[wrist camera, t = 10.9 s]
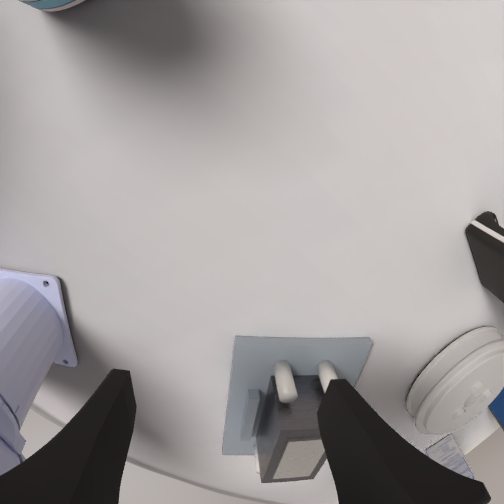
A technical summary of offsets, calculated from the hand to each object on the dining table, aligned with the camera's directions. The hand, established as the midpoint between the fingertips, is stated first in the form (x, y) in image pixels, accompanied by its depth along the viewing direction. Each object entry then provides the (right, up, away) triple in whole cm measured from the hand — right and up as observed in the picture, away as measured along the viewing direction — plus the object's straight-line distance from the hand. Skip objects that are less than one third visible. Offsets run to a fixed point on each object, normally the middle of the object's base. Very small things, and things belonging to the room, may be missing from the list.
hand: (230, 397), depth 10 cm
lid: (+22, -7, +16) cm, 28 cm away
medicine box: (+29, -24, +24) cm, 45 cm away
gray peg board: (+4, -8, +14) cm, 16 cm away
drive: (+4, -8, +13) cm, 16 cm away
